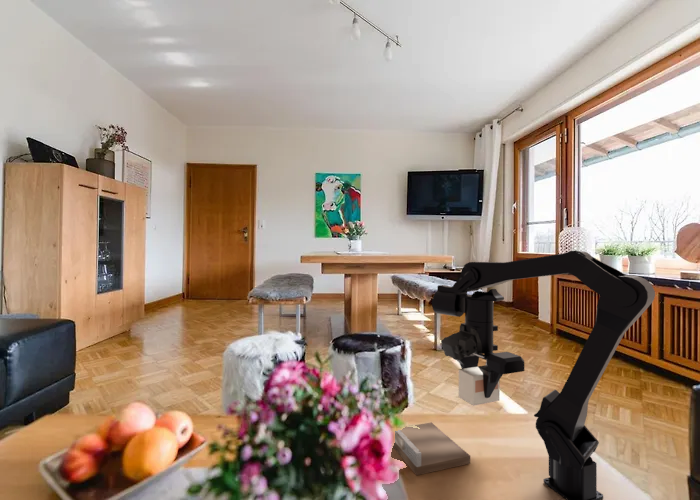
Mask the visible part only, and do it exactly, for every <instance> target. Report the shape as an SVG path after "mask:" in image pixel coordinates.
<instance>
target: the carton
mask: <svg viewBox="0 0 700 500" xmlns="http://www.w3.org/2000/svg"><path fill="white" fill-rule="evenodd" d="M458 398H459V399H461V400H462V401H464V402H465V403H467V404H469V405H471V406H472V407H474V406H479V405H485V404H488V403H494V402H498V401H499V402H500V380H499V381H498V383H497V385H496V387H495V389H494V391H493V392H492V394H491V396H490V397H489V398H485V395H484V383H483V373H482V371H481V370H480V369H479V368H478V367H472V368H464V369H462V368H459V369H458Z"/></svg>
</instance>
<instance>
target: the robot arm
mask: <svg viewBox="0 0 700 500" xmlns="http://www.w3.org/2000/svg"><path fill="white" fill-rule="evenodd" d="M566 274H567V275H568V274H571V275H572V276H574V277H575V278H577V279H578V280H579V281H580V282H582V283H583V284H584V285H585V286H586V287H587V288H588V289H590V290H591V291H593V292H595V293H596V294H598V296H599V297H598V301H597V304H596V313H595V322H594V326H593V327H592V329H591V331H590V333H589V335H588V337H587V340H586V341H585V343H584V345H583V346H582V350H581V351H580V353H579V355H578V357H577V359H576V362H575V364H574V366H573V367H572V370H571V371H570V373H569V375H568V377H567V379H566V381H565V383H564V386H563V387H562V388H561V391H560V392H559V391H558V390H557V389H554V390H552V391H550V392H549V393H548V394H546V395H545V396H544V397H543V398H542V400H541V402H540V407H539V410H538V411H537V412H536V413H534V414H533V416H534V417H535V418H536V421H535V429H536V430H537V434H538V435H539V437H540V439H542V440H543V443H544V446H545V449H546V452H547V455H548V477H545V478H543V483H544V484H545V485H546V486H548V487H549V488H550V489H552V490H554V491H555V492H556V493H557V494H559V496H561V497H563V498H564V499H565V500H603V499H604V494H603V493H601V492H600V491H599V490H597V489H598V488H597V487H598V486H597V485H598V484H597V483H598V482H597V480H598V477H597V465H598V464H597V462H596V461H595V460H593V458H592V457H591V456H592V454H594V453H595V452H596V450H597V448H598V446H599V444H600V442H599V440H598V439H597V438H596V436H595V435H594V434H593V433H592V432H591V431H590V430H589V428H588V427H587V426H586V425H585V423H586V419H587V416H588V409H589V408H588V407H589V401H590V399H591V397H592V395H593V393H594V391H595V389H596V388H597V386H598V384H599V382H600V379H601V378H602V376H603V374H604V372H605V371H606V369H607V367H608V366H609V364H610V361H611V359H612V357H613V356H614V354H615V352H616V350H617V348H618V347H619V344H620V343H621V340H622V339H623V337H624V335H625V334H626V333H627V331H628V330H629V329H630V328H631V327H632V326H633V325H634V324H635V323H636V321H637V320H639V318H640V317H641V316H642V314H644V313H645V311H646V310H647V309H648V308H649V307H650V306H651V304H652V303H653V302H654V300H655V297H656V290H655V288H654V287H653V285H652V283H651V282H649V281H648V280H647V279H645V278H643V277H641V276H637V275H631V274H630V275H629V274H628V275H626V274H625V273H624V272H621V271H620V270H618V269H616V268H614V267H612V266H611V265H609V264H607V263H605V262H603V261H600V260H599V259H597V258H595V257H594V256H592V255H591V254H590V253H589V252H587V251H584V250H570V251H567V252H564V253H558V254H551V255H545V256H540V257H539V256H538V257H531V258H525V259H519V260H513V261H506V262H505V261H500V262H499V261H469V262H466V263H465V264H464V265H463V267H462V269H461V272H460V276H459V277H458V278H457V279H456V281H455V282H454V284H453V285H452V286H449V285H447V284H441V285H440V284H439V285H437V289H436V291H435V293H434V294H433V297H432V300H431V307H432V310H433V312H434V313H436V314H439V315H443V316H444V315H445V316H450V317H457V318H460V317H461V316H462V317H463V315H464V322H463V323H460V325H459V331H458V332H455V333H452V334H451V335H448V336H445V337H443V339H441V350H442V351H443V352H444V355H445V356H446V357H449V358H452V359H453V360H455V361H457V362H458V364H459V365H460V369H464V368H472V367H478V368H479V369H480V370H481V371H482V373H483V383H484V395H485V398H489V397H490V396H491V394H492V392H493V391H494V389H495V387H496V385H497V383H498V381H499V382H500V379H502V377H503V376H504V375H508V374H516V373H522V372H525V360H524V358H523V357H522V356H521V355H518V354H515V353H512V352H510V351H502V352H495V351H498V348H499V346H498V345H497V344H494V332H498V331H499V326H498V325H495V324H494V302H500V301H504V299H505V298H504V296H503V295H502V294H501V293H500V292H498V290H497V288H493V287H496V286H499V285H503V284H506V283H507V282H510V281H514V280H522V279H530V278H531V279H532V278H540V277H548V276H557V275H559V276H560V275H566ZM491 287H492V289H489V290H488V291H481V289H486V288H491ZM468 292H473V293H472V294H468ZM480 359H482V360H485V365H480V366H479V360H480Z"/></svg>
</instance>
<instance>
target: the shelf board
mask: <svg viewBox="0 0 700 500" xmlns="http://www.w3.org/2000/svg"><path fill="white" fill-rule="evenodd" d="M414 425H415V426H417V427H419V428H420V429H418V428H413V427H407V426H404V427H405V428H403V429H402V430H398V431H395V443H394V446H392V447H393V448H394V450H395V451H396V452H397V454H398V455H399V456H400V458H402V460H403V461H404V463H406V465H407V466H408V467H409V468H410V469H411V471H412V472H413V473H414V474H415V476H419V475H424V474H428V473H435V472H437V471H442V470H446V469H451V468H454V467H455V468H456V467H460V466H464V465H470V464H471V455H470V454H469V453H468V452H467V451H465V449H464V448H462V447H461V446H459V444H457V443H456V442H455V441H454V440H452V439H451V437H449V436H448V435H447V434H446V433H445V432H444V431H443V430H441V429H440V428H439V427H438V426H436V425H435V424H434V423H433V422H432V421H431V422H425V423H420V424H414Z"/></svg>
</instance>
